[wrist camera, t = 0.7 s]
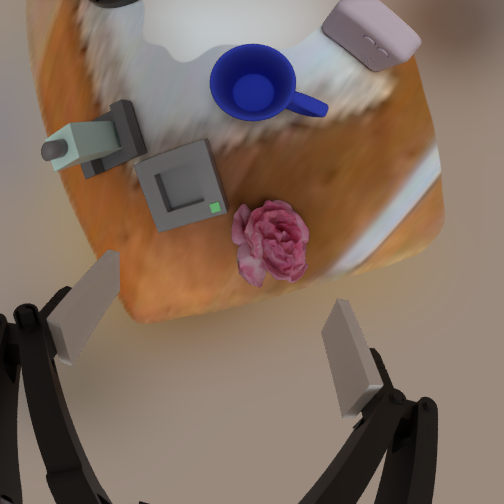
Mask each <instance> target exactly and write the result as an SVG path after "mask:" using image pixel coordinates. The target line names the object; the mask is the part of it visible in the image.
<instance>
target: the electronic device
mask: <svg viewBox="0 0 504 504" xmlns="http://www.w3.org/2000/svg"><path fill="white" fill-rule="evenodd" d="M322 28H323V31H324V32H325V33H326V34H327V35H328V36H329V37H331V38H332V39H334V40H335V41H336V42H338V43H339V44H340V45H341V46H343V47H344V48H345V49H347V50H348V51H349V52H350V53H352V54H353V55H354V56H355V57H356V58H358V59H359V60H360V61H361V62H362V63H364V64H365V65H366V66H367V67H368V68H369V69H371V70H373V71H382V70H384V69H387V68H390V67H393V66H395V65H398V64H401V63H404V62H406V61H408V60H409V59H410V57H411V56H412V55H413V54H414V52H415V51H416V50H417V48H418V47H419V46H420V45H421V39H420V37H419V36H418V35H417V34H416V33H415V32H414V31H413V30H412V29H411V28H410V27H409V26H408V25H407V24H406V23H405V22H404V21H403V20H401V19H400V18H399V17H398V16H397V15H396V14H395V13H393V12H392V11H391V10H390V9H389V8H388V7H386V6H385V5H384V4H383V3H381V2H380V1H379V0H340V1H339V2H338V3H337V5H336V6H335V7H334V9H333V10H332V12H331V13H330V14H329V16H328V17H327V18H326V20H325V21H324V23H323V25H322Z"/></svg>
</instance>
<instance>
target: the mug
mask: <svg viewBox="0 0 504 504" xmlns="http://www.w3.org/2000/svg"><path fill="white" fill-rule="evenodd" d="M210 89H211V93H212V96H213V98H214V100H215V102H216V103H217V105H218V106H219V107H220V108H221V109H222V110H223V111H224V112H226V113H227V114H229V115H230V116H232V117H235V118H237V119H240V120H245V121H261V120H265V119H269V118H271V117H273V116H275V115H277V114H279V113H280V112H281V111H283V110H284V109H285V108H286V109H288V110H291V111H293V112H296V113H299V114H302V115H305V116H310V117H324V116H325V115H326V114H327V111H328V105H327V104H325V103H323V102H321V101H319V100H317V99H315V98H312V97H310V96H308V95H305V94H302V93H299V92H296V91H295V89H296V77H295V72H294V70H293V67H292V65H291V64H290V62H289V61H288V59H287V58H286V57H285V56H284V55H283V54H281V53H280V52H279V51H277V50H275V49H273V48H271V47H269V46H265V45H261V44H245V45H241V46H237V47H235V48H233V49H231V50H229V51H227V52H226V53H225V54H223V55H222V56H221V57H220V58H219V59H218V61H217V62H216V64H215V65H214V67H213V69H212V72H211V76H210Z"/></svg>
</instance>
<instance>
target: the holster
mask: <svg viewBox="0 0 504 504" xmlns="http://www.w3.org/2000/svg"><path fill="white" fill-rule="evenodd" d="M110 109H111V111H109V112H108V113H106V114H104V115H102V116H100V117H98V118H97V119H95V120H93V121H91V122H94V121H114V123H115V126H116V129H117V133H118V136H119V139H120V142H121V145H122V149H120V150H117V151H115V152H113V153H111V154H109V155H107V156H105V157H102V158H98V159H95V160H91V161H88V162H84V163H81V167H82V170H83V173H84V176H85V179H88V178H90V177H93V176H95V175H98V174H100V173H102V172H104V171H106V170H108V169H111V168H113V167H115V166H117V165H119V164H122V163H124V162H126V161H128V160H131V159H133V158H135V157H138V156H140V155H142V154H145V153H146V150H145V147H144V144H143V141H142V138H141V134H140V131H139V128H138V125H137V121H136V118H135V115H134V111H133V108H132V105H131V101H128V100H119V101H117V102H115V103H113V104H111V105H110Z"/></svg>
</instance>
